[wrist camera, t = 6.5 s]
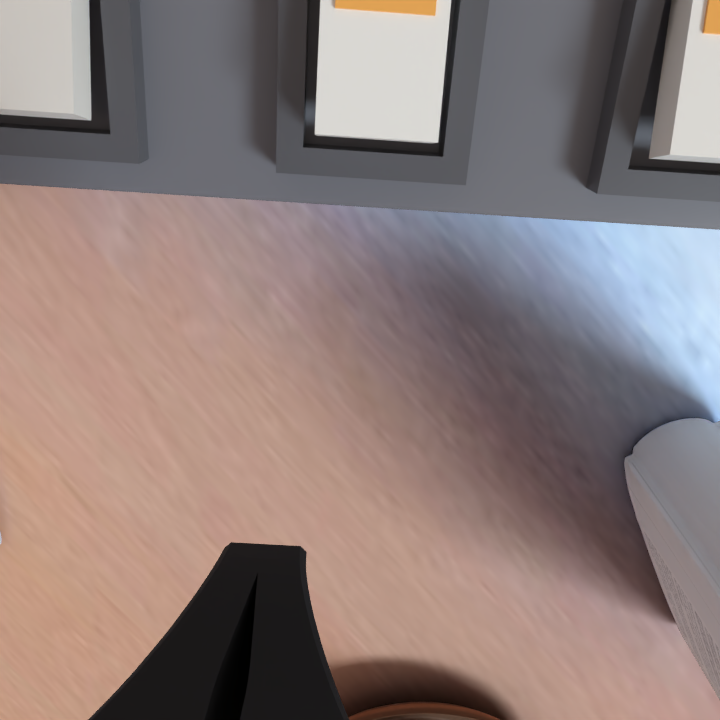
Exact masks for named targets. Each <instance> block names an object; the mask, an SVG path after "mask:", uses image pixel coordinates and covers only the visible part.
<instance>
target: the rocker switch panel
mask: <svg viewBox="0 0 720 720" xmlns="http://www.w3.org/2000/svg"><path fill="white" fill-rule="evenodd" d="M670 7H671V0H451V9H450V20H449V31H448V41H447V52H446V63H445V74H444V85H443V96H442V106H441V117H440V128H439V139H438V143H418V142H403V141H388V140H374V139H359V138H344V137H330V136H316V135H315V114H316V90H317V67H318V44H319V20H320V0H89V17H90V72H91V121H90V120H76V119H61V118H46V117H32V116H17V115H2V114H0V183H1V184H16V185H32V186H48V187H63V188H79V189H95V190H110V191H126V192H141V193H157V194H173V195H188V196H204V197H220V198H235V199H251V200H266V201H282V202H298V203H313V204H329V205H345V206H360V207H376V208H391V209H407V210H423V211H438V212H454V213H470V214H485V215H501V216H516V217H532V218H548V219H563V220H579V221H595V222H610V223H626V224H641V225H657V226H673V227H688V228H704V229H719V230H720V163H707V162H692V161H677V160H663V159H649V153H650V146H651V139H652V132H653V125H654V118H655V111H656V104H657V97H658V90H659V83H660V76H661V70H662V63H663V56H664V49H665V42H666V35H667V28H668V21H669V14H670Z"/></svg>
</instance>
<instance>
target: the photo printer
mask: <svg viewBox="0 0 720 720" xmlns="http://www.w3.org/2000/svg"><path fill="white" fill-rule="evenodd" d="M624 466H625V475H626V481H627V486H628V491H629V494H630V498H631V501H632V504H633V507H634V511H635V515H636V519H637V521H638V523H639V526H640V529H641V532H642V534H643V537H644V540H645V543H646V546H647V549H648V552H649V555H650V558H651V560H652V563H653V566H654V568H655V571H656V574H657V576H658V579H659V582H660V585H661V588H662V590H663V593H664V595H665V598H666V600H667V602H668V605H669V607H670V610H671V612H672V614H673V617H674V619H675V622H676V624H677V626H678V628H679V631H680V633H681V634H682V636H683V638H684V640H685V642H686V643H687V645H688V647H689V649H690V650H691V652H692V654H693V655H694V657H695V659H696V660H697V662H698V664H699V666H700V667H701V669H702V671H703V672H704V674H705V676H706V678H707V679H708V681H709V683H710V684H711V686H712V688H713V689H714V691H715V693H716V695H717V696H718V698H719V700H720V421H718V422H716V423H712V422H710V421H709V420H706V419H701V418H687V419H680V420H676V421H672V422H669V423H666V424H664V425H662V426H660V427H658V428H656V429H654V430H653V431H651V432H649V433H648V434H647V435H645V436H644V437H643V438H642V439H641V440H640V441H639V442H638V443H637V444H636V445H635V446H634V448H633V454H632V455H630V456H627V457H625V461H624Z"/></svg>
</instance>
